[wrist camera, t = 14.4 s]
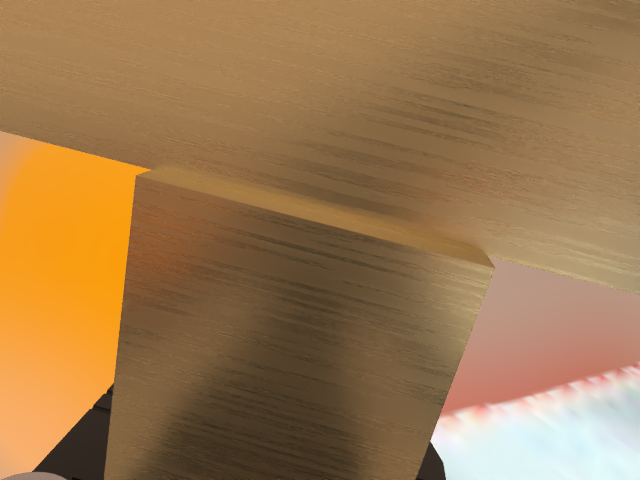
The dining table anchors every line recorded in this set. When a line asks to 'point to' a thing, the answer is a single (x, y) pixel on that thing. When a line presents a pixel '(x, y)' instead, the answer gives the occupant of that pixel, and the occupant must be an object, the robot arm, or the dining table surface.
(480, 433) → the dining table surface
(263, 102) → the t key
